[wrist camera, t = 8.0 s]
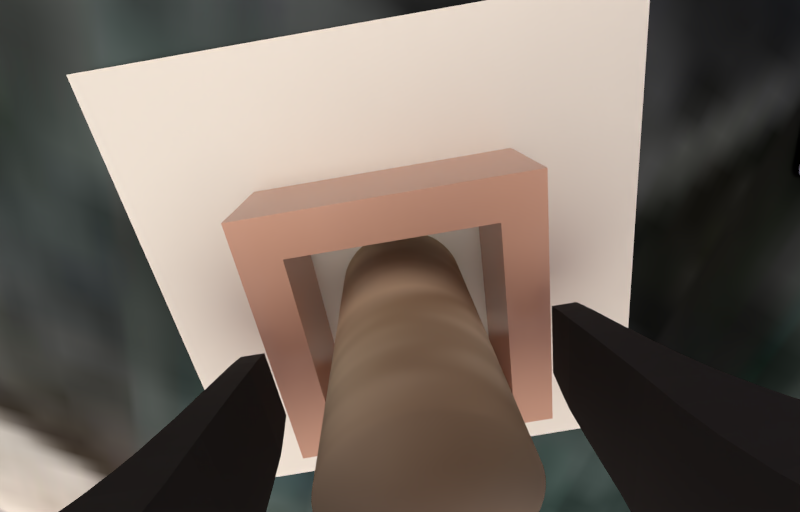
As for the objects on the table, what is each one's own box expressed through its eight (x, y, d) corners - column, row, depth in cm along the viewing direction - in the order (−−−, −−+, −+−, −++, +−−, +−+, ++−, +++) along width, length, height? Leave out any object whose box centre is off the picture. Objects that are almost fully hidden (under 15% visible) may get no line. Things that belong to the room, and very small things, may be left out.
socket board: (630, -21, 12) (740, -63, 8) (609, 404, 18) (667, 485, 15) (89, 74, 12) (-32, 75, 9) (251, 462, 19) (221, 556, 15)
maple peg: (477, 249, 14) (587, 436, 7) (437, 345, 16) (492, 585, 8) (362, 216, 14) (345, 385, 6) (331, 319, 15) (288, 556, 8)
